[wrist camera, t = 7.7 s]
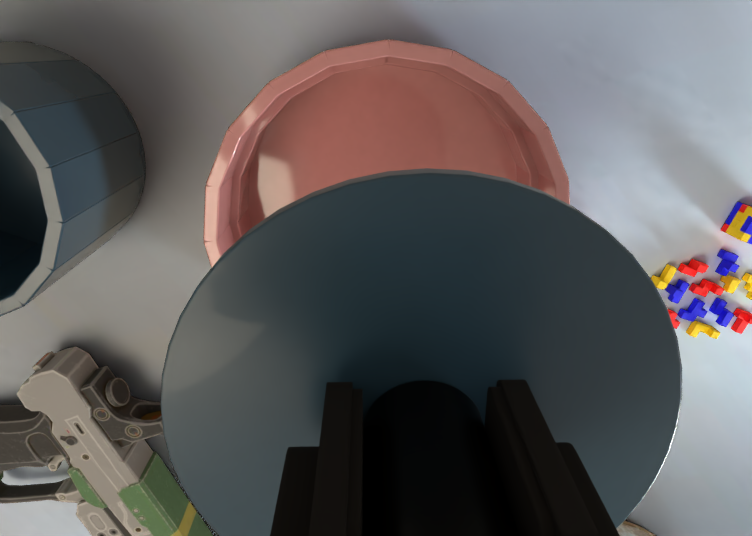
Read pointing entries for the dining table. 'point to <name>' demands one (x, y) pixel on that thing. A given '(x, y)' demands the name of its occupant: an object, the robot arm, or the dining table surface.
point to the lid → (419, 351)
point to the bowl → (372, 131)
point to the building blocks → (741, 225)
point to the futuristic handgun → (93, 450)
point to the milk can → (632, 530)
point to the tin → (59, 168)
